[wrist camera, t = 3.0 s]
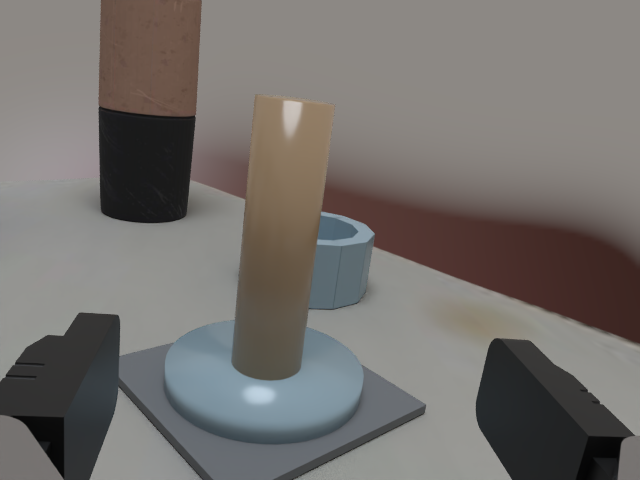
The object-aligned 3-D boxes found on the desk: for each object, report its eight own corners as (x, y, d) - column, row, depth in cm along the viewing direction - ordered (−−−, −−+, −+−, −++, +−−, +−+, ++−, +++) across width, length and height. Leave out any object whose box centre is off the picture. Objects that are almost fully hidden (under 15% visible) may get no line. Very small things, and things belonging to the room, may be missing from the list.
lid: (128, 363, 25) (138, 79, 21) (280, 324, 30) (306, 94, 27) (238, 474, 19) (275, 109, 16) (400, 401, 25) (453, 120, 21)
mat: (103, 368, 25) (103, 360, 25) (281, 322, 32) (282, 315, 31) (230, 509, 18) (231, 499, 18) (424, 412, 25) (426, 404, 25)
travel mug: (80, 215, 46) (81, -58, 40) (120, 196, 53) (126, -38, 48) (172, 228, 46) (187, -45, 40) (200, 207, 53) (216, -27, 47)
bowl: (218, 271, 38) (223, 213, 37) (309, 256, 43) (315, 205, 42) (295, 318, 32) (303, 251, 31) (388, 294, 38) (398, 237, 36)
